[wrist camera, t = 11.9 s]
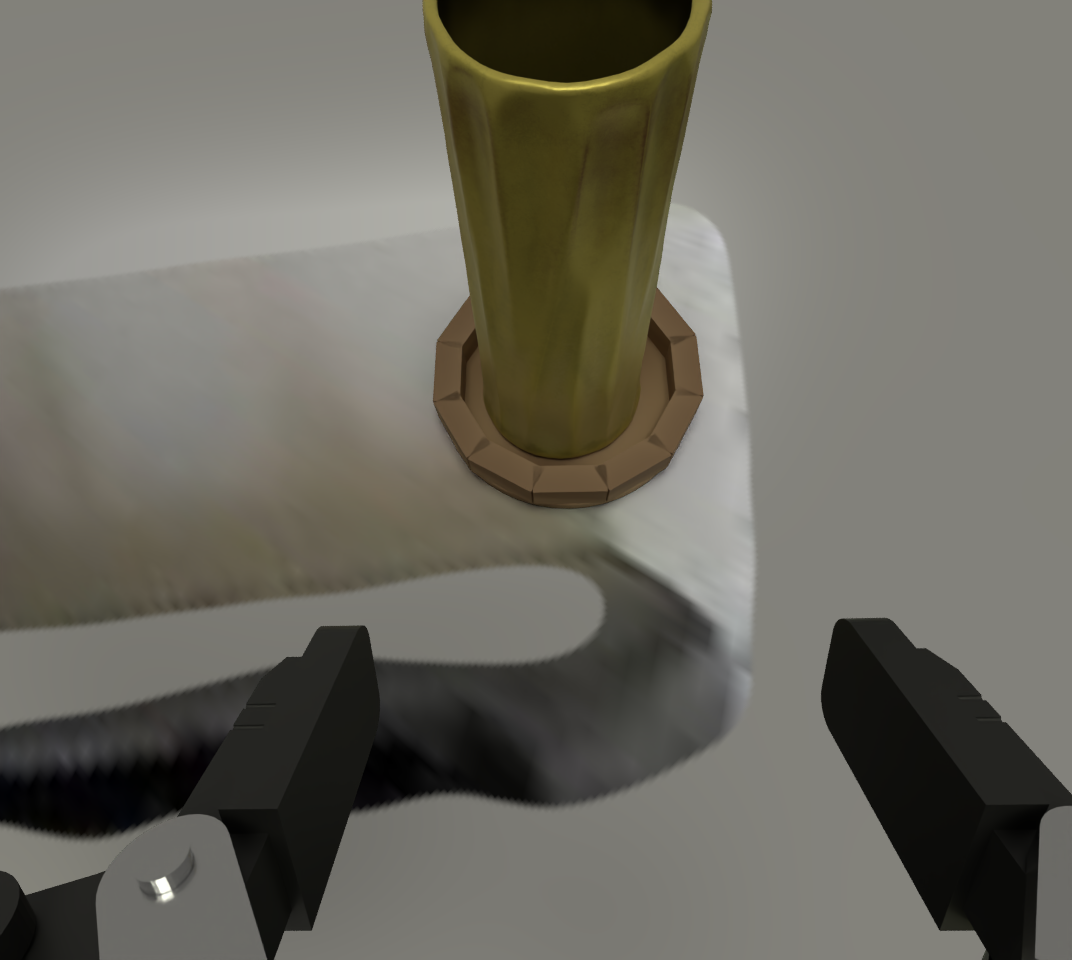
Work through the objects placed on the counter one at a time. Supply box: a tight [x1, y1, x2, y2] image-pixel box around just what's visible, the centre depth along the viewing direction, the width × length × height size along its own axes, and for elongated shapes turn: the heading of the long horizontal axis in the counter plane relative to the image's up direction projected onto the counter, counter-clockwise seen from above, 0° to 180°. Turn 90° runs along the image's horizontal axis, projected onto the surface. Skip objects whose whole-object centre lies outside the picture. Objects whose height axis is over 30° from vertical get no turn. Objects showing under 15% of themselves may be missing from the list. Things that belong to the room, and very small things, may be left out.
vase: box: [423, 0, 712, 459], centre depth 18 cm, size 6×6×14 cm
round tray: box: [433, 288, 703, 509], centre depth 24 cm, size 10×10×2 cm
